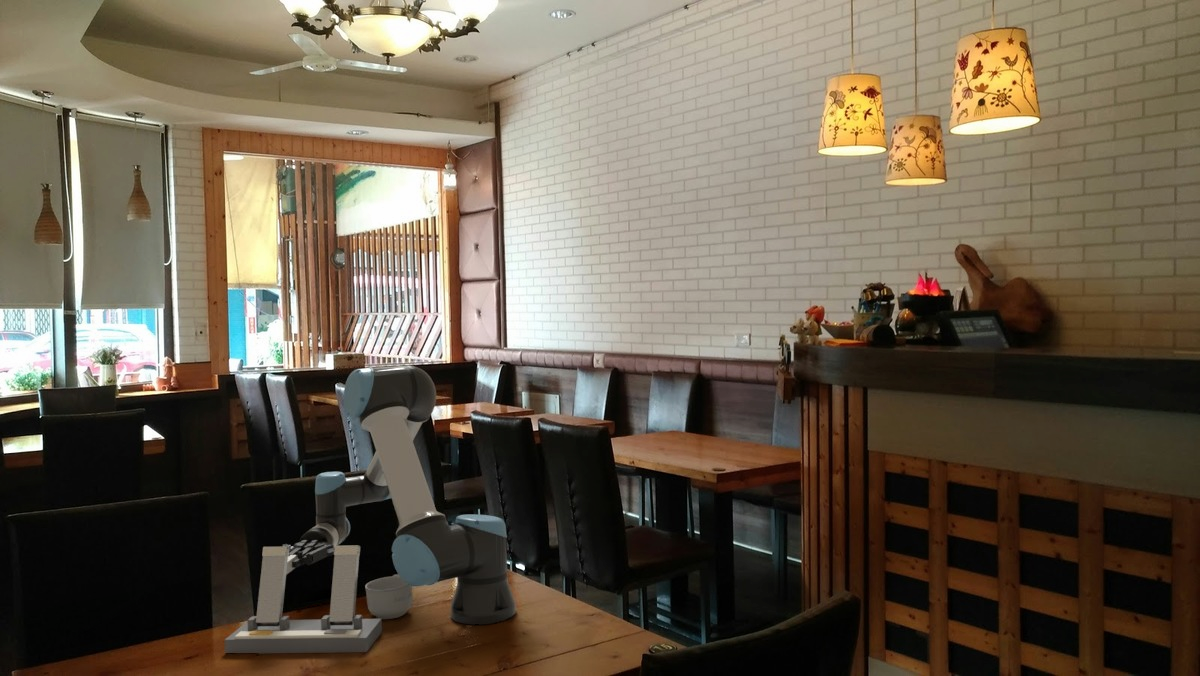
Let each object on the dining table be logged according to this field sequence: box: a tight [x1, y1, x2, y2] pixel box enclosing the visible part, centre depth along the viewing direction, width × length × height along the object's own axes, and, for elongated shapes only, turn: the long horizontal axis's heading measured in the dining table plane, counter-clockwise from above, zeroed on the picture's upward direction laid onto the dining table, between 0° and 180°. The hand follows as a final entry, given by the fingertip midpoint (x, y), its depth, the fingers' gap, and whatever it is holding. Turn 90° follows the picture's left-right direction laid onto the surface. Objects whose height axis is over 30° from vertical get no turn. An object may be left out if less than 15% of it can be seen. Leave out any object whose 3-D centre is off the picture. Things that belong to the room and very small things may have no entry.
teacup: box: [364, 573, 414, 620], centre depth 212 cm, size 14×11×8 cm
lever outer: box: [255, 545, 289, 627], centre depth 196 cm, size 5×2×17 cm, turn 89°
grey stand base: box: [224, 614, 383, 654], centre depth 193 cm, size 30×12×6 cm, turn 89°
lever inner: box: [329, 544, 361, 626], centre depth 195 cm, size 5×2×17 cm, turn 89°
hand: (283, 568), depth 202 cm, fingers closed
